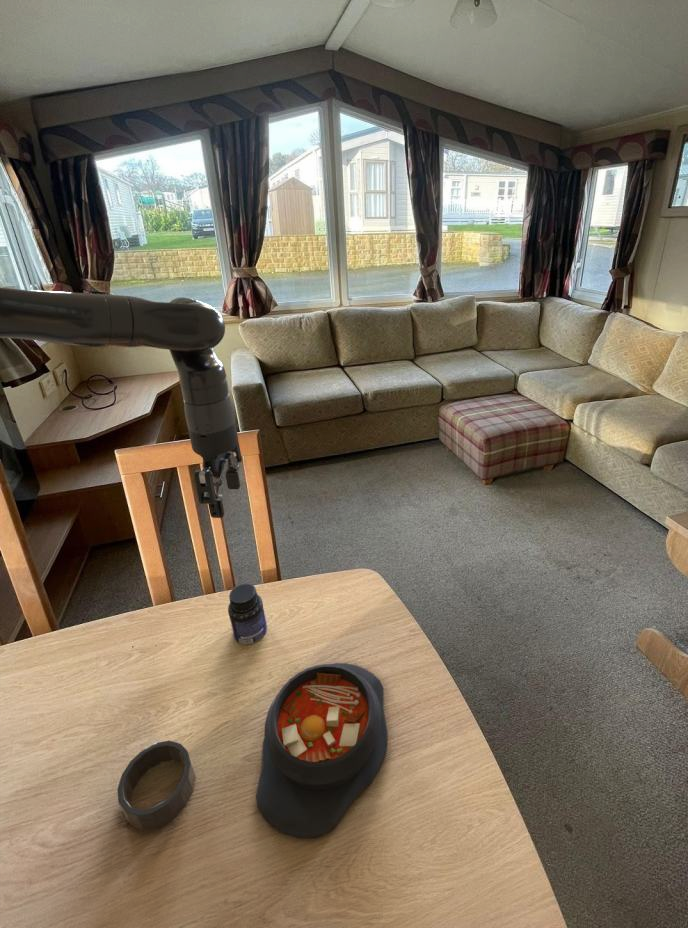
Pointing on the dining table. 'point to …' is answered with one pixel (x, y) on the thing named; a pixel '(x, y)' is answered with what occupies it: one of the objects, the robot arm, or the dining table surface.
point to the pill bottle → (247, 614)
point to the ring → (174, 802)
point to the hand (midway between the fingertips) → (226, 501)
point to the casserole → (321, 747)
